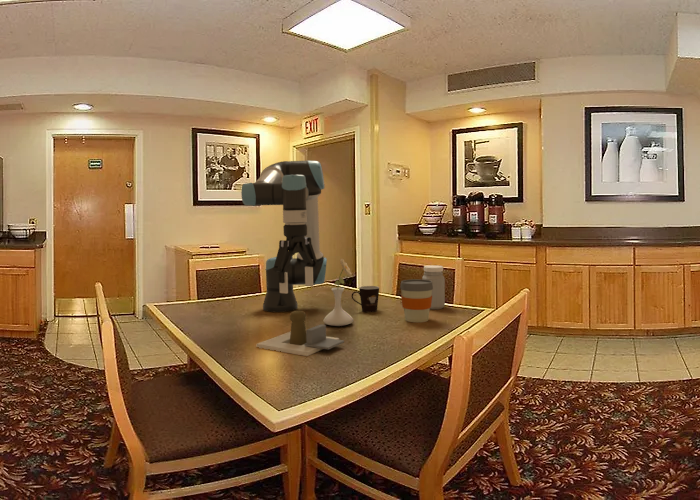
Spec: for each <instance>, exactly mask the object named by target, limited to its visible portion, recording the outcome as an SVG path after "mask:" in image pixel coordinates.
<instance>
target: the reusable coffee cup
mask: <svg viewBox="0 0 700 500" xmlns="http://www.w3.org/2000/svg"><path fill="white" fill-rule="evenodd" d="M432 289H433V285H432V281H430V280H422V278H419V279H414V278H413V279H412V278H411V279H404V280H401V282H400V290H401V295H400V299H401V306H402V308H403V312H404V313H403V314H404V319H405V320H404V321H406V322H410V323H425V322H428V321H429V318H430V310H431V309H430V308H431V303H432V295H431V294H432Z"/></svg>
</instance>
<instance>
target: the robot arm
mask: <svg viewBox="0 0 700 500" xmlns="http://www.w3.org/2000/svg"><path fill="white" fill-rule="evenodd" d="M324 178H325V177H324V172H323V168H322V165H321V162H320V161H318V160H309V159H308V160H289V161H288V160H283V161H279V162H275V163H273V164H271V165H268V166H266V167H265V168H264V169H263V170H261V172H260V176H259V178H258V179H256V181H255V182H249V183H248V182H246V183H243V184H242V186H241V191H240V193H241V201H242V204H243V205H245V206H252V207H255V206H282V222H283V236H284V237H285V238H286V239H285V240H283V239H282V240H280V239H279V240H278V241H279V242H278V249H277V254H276V256H273V257H269V258H267V260H266V261H265V278H266V279H265V283H266V285H265V287H266V293H265V297H264V300H263V304H262V309H263V311H265V312H271V313H281V312H282V313H284V312H293V311H296V310H297V309H299V308H298V301H297V297H296V295H295V292H294V285H295V286H301V285H303V286H305V287H310V288H311V287H312V288H313V287H314V286H315V285H321V284H324V283H325V281H326V271H327V263H328V262H327V261H328V259H327V257H324V253H323V252H322V251H321V246H320V243H321V242H320V222H319V196H321V194H322V190H324V189H325V187H326V186H325V179H324ZM294 255H296V258H295V257H293V256H294Z"/></svg>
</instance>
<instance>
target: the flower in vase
mask: <svg viewBox="0 0 700 500" xmlns="http://www.w3.org/2000/svg"><path fill="white" fill-rule="evenodd" d="M339 261H340V265H341V267H342V269H341V271H340V274H339V276H338V279H336V280H335V282H334V285H335V286H337V287H332V288H331V289H330V290H331V292H332V294H333V297H334V307H333V310H331V311H330V312H329V313H328V314H327V315H326V316H324V318H323V322H324V325H326V326H327V325H328V326H332V327H340V326H341V327H342V326H347V325H350V324H352V323H353V322H354V318H353V317H352V316H351V314H349V313H348V312H347V311H345V310H344V309H343V307H342V295H343V292H344V290H345V288H344V287H340V284H341V285H344V284H345V281H344V279H343V278H342V277H341V276H342V274H343V271H344V273H345V274H346V275H347V276H348V277H349V278H351V277H352V276H353V273H352V272H351V268H350V267H349V266H348V263H347V262H345V259H344V258H340V260H339Z"/></svg>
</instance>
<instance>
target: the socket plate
mask: <svg viewBox="0 0 700 500" xmlns="http://www.w3.org/2000/svg"><path fill="white" fill-rule="evenodd" d="M290 334H291V331H288V332H285V333H283V334H279V335H277V336H275V337H272V338H269V339H266V340H263V341H260V342H257V343H256V344H255V345H256V346H255V347H256V348H257V347H259V348H258V349H262V348H264V349H263V350H268V349H270V350H269V351H274V350H276V351H275V352H280V351H281V353H285V354H287V353H288V354H293V355H299V356H304V357H309V356H312V355H313V354H316V353H317V352H319V351H322V350H323V349H322V348H316V347H309V346H304V345H294V344H290ZM326 338H330V339H337V340H340V337H333V336H327V335H326Z"/></svg>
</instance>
